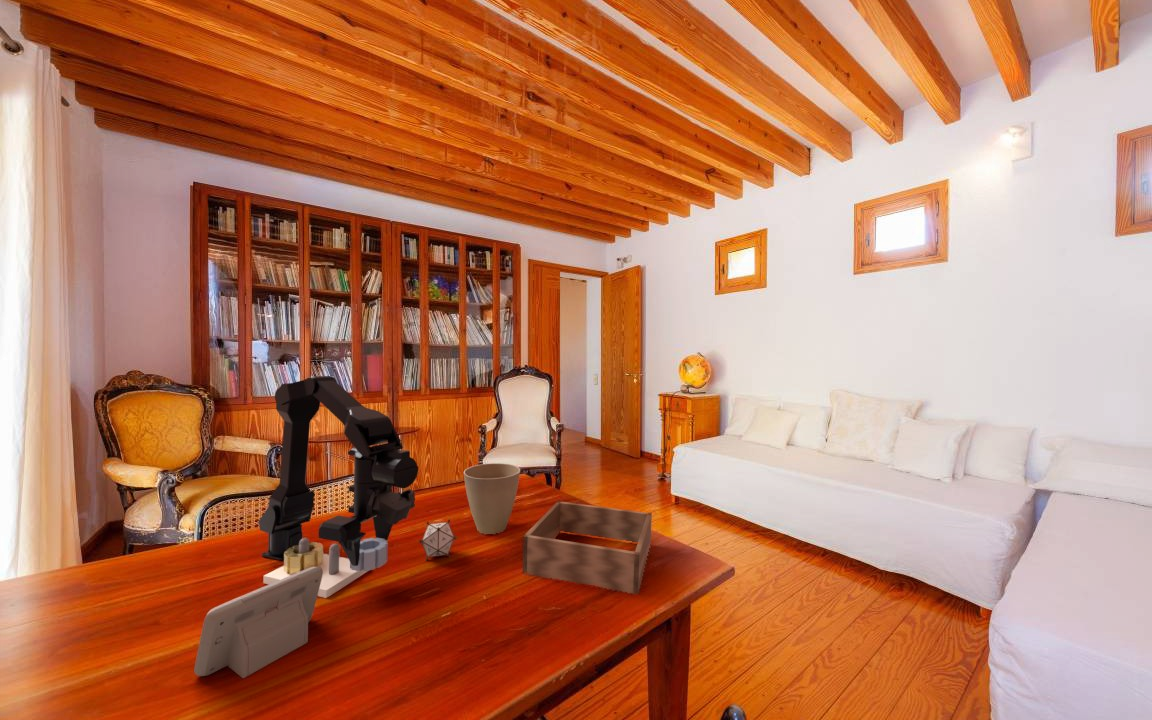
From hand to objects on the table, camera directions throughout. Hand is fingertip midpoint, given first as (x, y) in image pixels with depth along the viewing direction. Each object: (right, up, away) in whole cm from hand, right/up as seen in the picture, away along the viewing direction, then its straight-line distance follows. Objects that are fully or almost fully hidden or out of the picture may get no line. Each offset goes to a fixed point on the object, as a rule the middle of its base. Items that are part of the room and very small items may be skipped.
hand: (368, 557), depth 83 cm
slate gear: (0, -1, 0) cm, 1 cm away
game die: (+9, -6, +13) cm, 18 cm away
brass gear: (-16, -4, +5) cm, 17 cm away
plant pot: (+18, -6, +29) cm, 35 cm away
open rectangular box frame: (+45, -9, +15) cm, 48 cm away
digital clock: (-8, -6, -18) cm, 20 cm away
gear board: (-12, -6, +4) cm, 14 cm away
